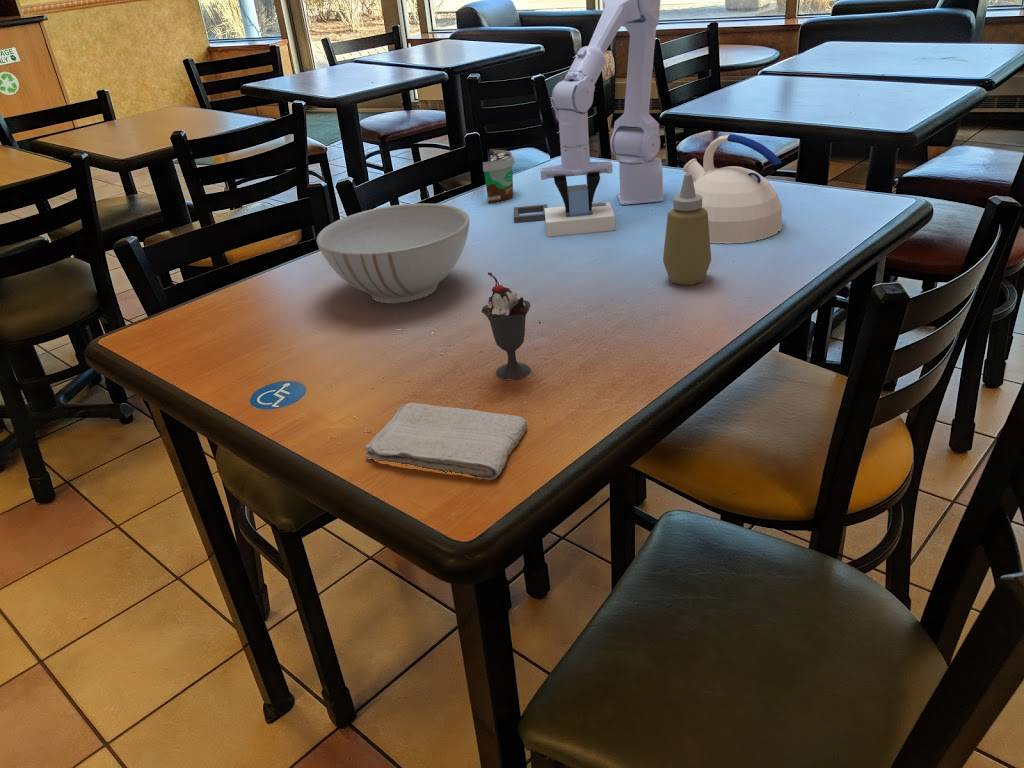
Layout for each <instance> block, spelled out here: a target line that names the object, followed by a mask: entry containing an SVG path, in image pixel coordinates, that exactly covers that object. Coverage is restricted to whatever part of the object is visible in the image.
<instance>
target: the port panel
mask: <svg viewBox="0 0 1024 768" xmlns="http://www.w3.org/2000/svg"><path fill="white" fill-rule="evenodd" d="M544 210H545V220H544V221H545V230H546V237H559V236H569V235H579V234H590V233H602V232H612V231H613V230H614V231H616V215H615V212H614V210H613V208H612V205H611V202H610V201H606V202H595V203H594V202H593V203H592V210H590V211H589V215H585V216H575V217H569V213H566V209H565V205H564V206H554V207H548V208H544Z"/></svg>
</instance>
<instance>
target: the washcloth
mask: <svg viewBox="0 0 1024 768" xmlns="http://www.w3.org/2000/svg"><path fill="white" fill-rule="evenodd" d="M527 427H528V422H527V421H526V420H525V418H523V417H521V416H519V415H511V414H506V413H495V412H494V413H493V412H489V411H485V410H484V411H482V410H475V409H469V408H467V409H465V408H461V407H453V406H451V407H450V406H445V407H444V406H440V405H433V404H432V405H431V404H427V403H422V402H421V403H417V402H408V403H405V404H404V405H403V406H401V407H398V408H397V409H396V411H395V415H394V416H393V417H392V418H391V419H390V421H388V422H387V423H386V424H385V425H384V426H383V428H382V429H380V431H378V432H377V433H376V434H375V436H374V437H373V438H371V440H370V441H369V443H367V444H366V445H365V447H364V448H365V449H364V450H365V451H367V452H366V453H365V456H364V457H365V459H367V458H370V459H373V460H377V461H388V462H395V463H396V462H397V463H401V464H410V465H414V466H417V467H418V466H419V467H422V468H427V469H433V470H439V471H443V472H445V471H447V472H448V471H449V472H451V473H452V472H455V473H461V474H469V475H471V476H474V477H476V478H478V477H479V478H482V479H489V480H488V481H494V480H495V479H497V478H498V476H500V475H501V473H502V472H503V470H502V469H504V468H505V466H506V463H507V460H508V457H509V456H510V455H511V453H512V452H513V450H514V449H513V448H514V447H517V446H518V445H519V443H520V441H519V440H521V439H522V437H523V436H524V434H523V433H525V432H526V431H527ZM516 445H517V446H516ZM512 449H513V450H512ZM508 455H509V456H508ZM370 459H369V460H370ZM406 466H407V465H406ZM447 472H445V473H447Z"/></svg>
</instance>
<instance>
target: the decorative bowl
mask: <svg viewBox="0 0 1024 768" xmlns="http://www.w3.org/2000/svg"><path fill="white" fill-rule="evenodd" d="M469 228H470V217H469V214H467V212H466V211H464V210H463V209H461V208H459V207H456V206H452V205H447V204H441V203H440V204H439V203H418V202H417V203H405V204H395V205H389V206H383V207H377V208H373V209H372V208H371V209H368V210H363V211H361V212H357V213H354V214H353V213H352V214H350V215H347V216H345V217H342V218H339V219H338V220H335V221H334V222H332V223H330V224H328V225H327V226H325V227H324V228H323V229H322V230H321V231H320V232H319V233H318V234H317V236H316V244H317V247H318V249H319V250H320V252H321V254H322V256H323V258H324V259H325V260H326V263H327V264H328V265H329V267H330V268H332V270H333V271H334V272H335V273H336V274H337V275H338V276H339V277H340V278H341V279H342V280H343V281H344V282H346V283H347V284H349V285H350V286H352V287H354V288H355V289H357V290H359V291H360V292H363V293H366V294H368V295H370V296H372V297H373V298H374V299H376V300H378V301H377V302H379V301H382V302H381V303H383V302H389V303H388V304H401V303H400V302H405V303H409V302H408V301H411V302H414V301H413V300H415V301H417V300H416V299H418V300H421V299H423V297H424V298H426V297H428V296H430V295H432V294H433V293H434V292H435V291H436V290H437V289H438V287H439V285H438V284H439V283H440V282H442V281H443V280H444V279H445V278H446V277H447V276H448V275H449V274H450V273H451V271H453V269H454V267H455V266H456V265H457V263H458V261H459V260H460V258H461V255H462V253H463V251H464V248H465V246H466V242H467V240H468V239H467V238H468V234H469ZM429 294H430V295H429ZM425 296H426V297H425ZM372 297H371V298H372ZM373 298H372V299H373ZM420 298H421V299H420ZM374 299H373V300H374ZM376 300H375V301H376Z"/></svg>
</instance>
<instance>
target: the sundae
mask: <svg viewBox="0 0 1024 768" xmlns="http://www.w3.org/2000/svg"><path fill="white" fill-rule="evenodd" d="M487 275H488V276H490V277H491V278H492V279H493V280H494V281H495V286H493V287H492V288H491V292H492V294H491V295H490V296H489V297H488V300H487V304H486V305H484V306H483V307H482V308H481V313H482V314H483V315H484V316H485V317H487V319H488V321H489V323H490V327H491V331H492V335H493V339H494V341H495V343H496V345H497V347H499V348H500V349H501V350H502V351H505V352H506V353H507V354H506V355H507V363H505V364H502V365H501V366H499V367H498V368H497V370H496V371H495V374H497V375H496V376H497V377H498V378H499V377H500V378H499V379H501V378H503V379H502V380H505V379H517V380H520V379H519V378H521V377H523V378H525V377H527V376H529V374H530V373H531V372H532V371H531V367H530V366H529V365H528V364H526V363H524V362H518V361H517V357H516V351H517V350H518V349H520V347H522V345H523V344H524V342H525V336H526V318H527V314H528V312H529V311H530V308H531V303H530V301H528V300H524V297H523V296H521V297H518V294H517V293H516V292H515V291H514V290H513V289H511V288H509V287H504V285H501V284H499V281H498V279H497V277H496V276H495V275H493V272H487ZM526 375H527V376H526ZM524 376H525V377H524ZM521 379H522V378H521Z"/></svg>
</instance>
